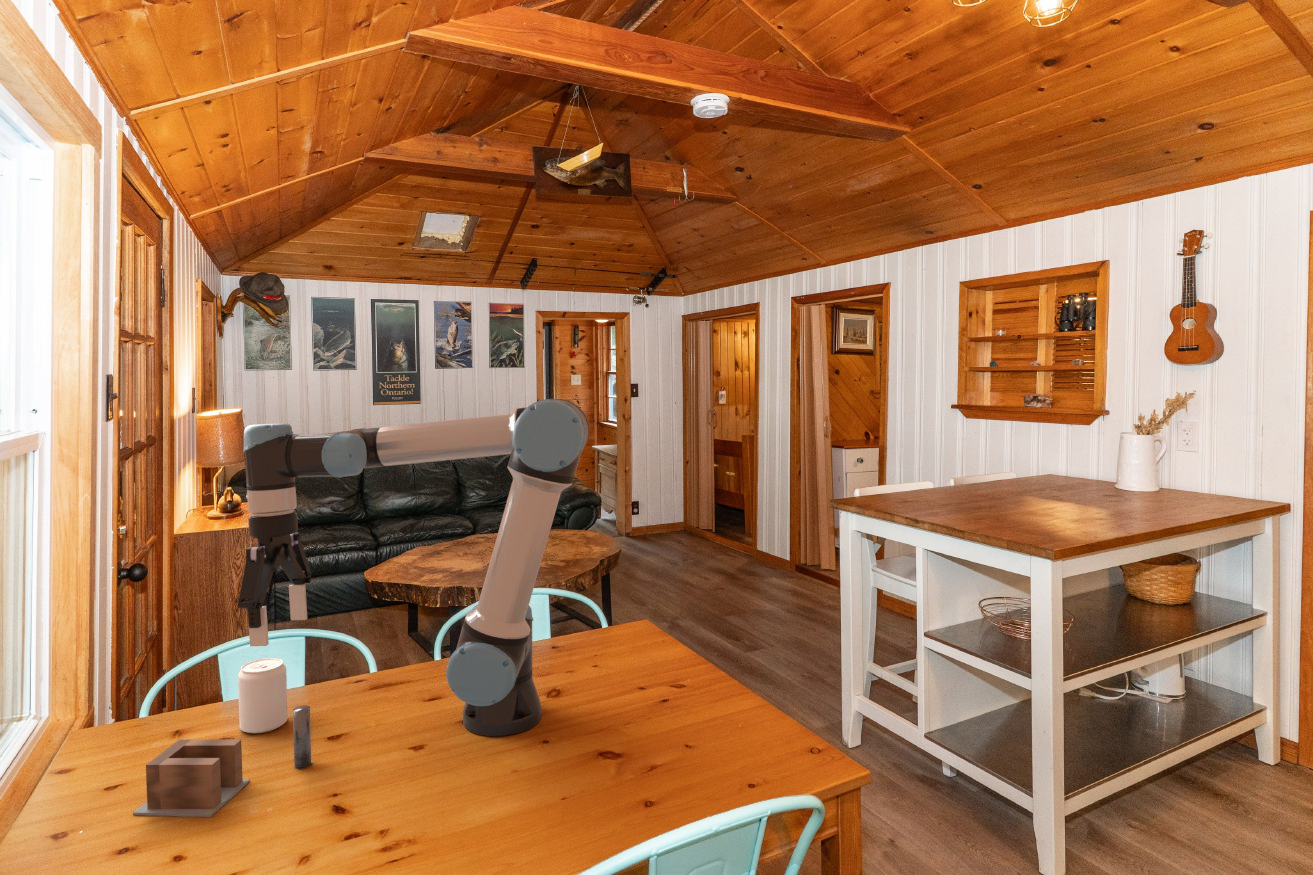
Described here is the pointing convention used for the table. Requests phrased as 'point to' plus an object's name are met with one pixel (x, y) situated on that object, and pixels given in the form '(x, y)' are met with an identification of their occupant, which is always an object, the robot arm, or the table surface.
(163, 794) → the c link
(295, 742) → the post
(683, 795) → the table surface
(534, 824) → the table surface
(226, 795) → the mat
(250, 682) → the beverage can
